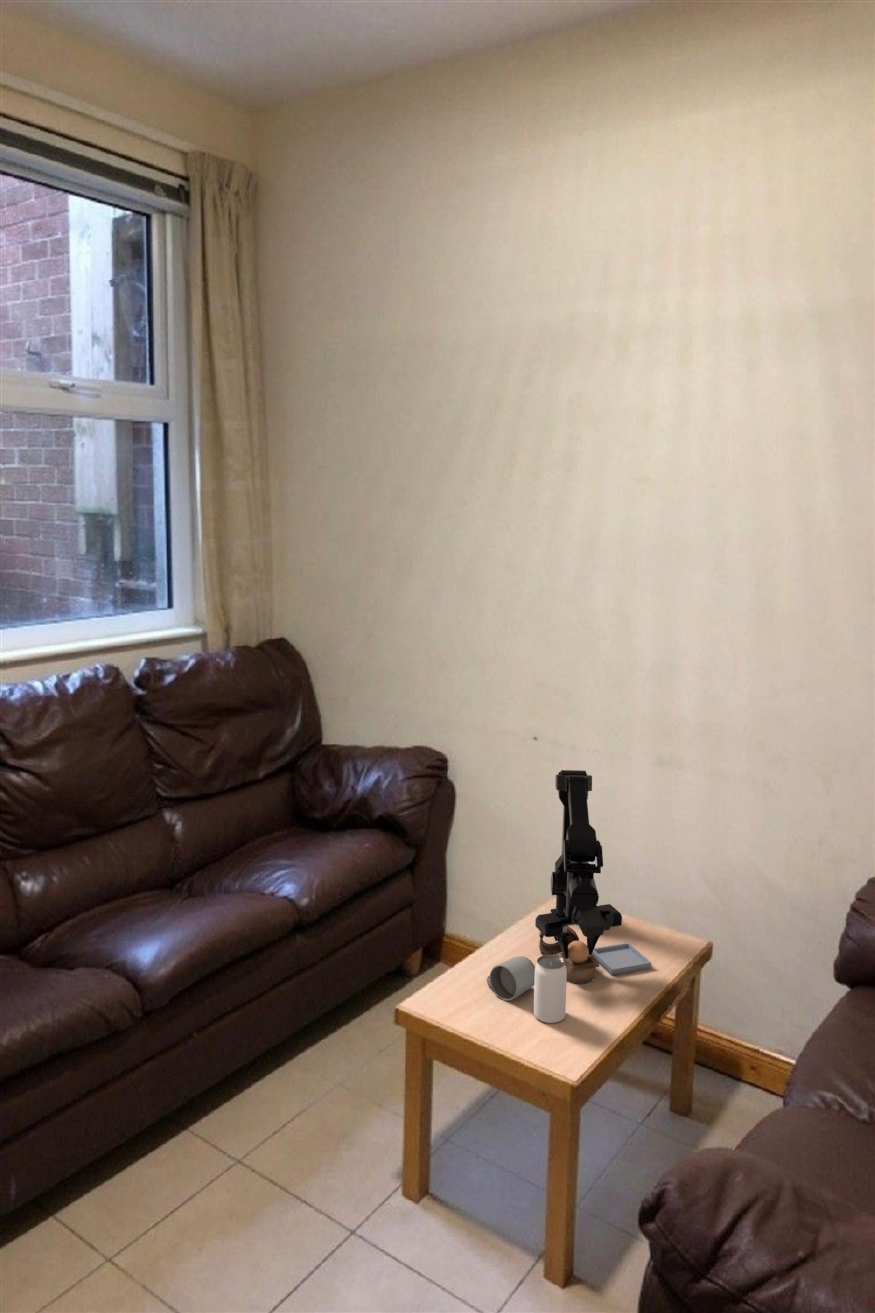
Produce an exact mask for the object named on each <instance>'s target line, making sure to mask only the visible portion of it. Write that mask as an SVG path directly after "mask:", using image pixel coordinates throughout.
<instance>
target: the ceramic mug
mask: <svg viewBox="0 0 875 1313" xmlns="http://www.w3.org/2000/svg"><path fill="white" fill-rule="evenodd" d="M535 966H536V965H535V964H534V963H533V961H532V960H531V959H530V958H528V957H526V956H523V955H520V956H514V957H512V958H510V959H508V960H506V961H502V962H501V963H498V964H496V965H494V966H493V967H492V969H491V970H490V972H489V975H488V976H486V983H487V985H488V987H491V989H492V991H493V992H494V994H495V996H497V997H498V998H499V999H501V1001H505V1002H510V1001H512V1000H514V999H516V998H518V997H519V996H521V995H523V994H524V993H525V992H527V991H529V990H530V989H532V988H533V987H534V980H535Z"/></svg>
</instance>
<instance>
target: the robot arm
mask: <svg viewBox="0 0 875 1313" xmlns="http://www.w3.org/2000/svg"><path fill="white" fill-rule="evenodd" d="M554 781H555V790H556V791H557V793H558V794H557V795H558V798H559V799H558V800H559V801H560V802H561V804H562V806H563V807H562V808H563V810H562V811H563V813H562V832H561V833H562V834H561V855H559V857H558V859H557V860H556V861H555V862H554V871H551V875H550V876H551V877H550V891H551V892H550V894H551V896H556V897H555V908H551V909H550V912H548V913H543V914H538V915H537V916H536V918H535V923H534V924H535V927H536V929H537V930H538V931H539V933H540V932H541V933H542V934H543V935H544V936H543V937H545V938H554V936H556V938H557V940H558V941H557V942H558V943H559V945H560V948H561V951H562V952H561V953H563V956H564V958H565V959H567V958H568V946H569V945H568V938H569V937H570V934H569V933H568V932H567V926H569V927H570V926H571V927H572V926H578V928H579V929H580V931H581V934H582V935H583V936H584V937H585V938H586V945H587V947H588V950H589V955H591V954H592V952H593V950H594V948H596V946H597V945H596V944H597V943H598V941H599V939H600V936H603V935H604V933H605V932H607V931H609V930H610V929H611V928H614V927H621V926H622V924H623V915H622V913H621V912H620V911H619V910H617V909H616V908H615V907H614V906H613V905H611V903H607V904H606V903H605V904H600V905H598V903H599V898H600V896H599V892H598V888H597V884H596V881H595V875H594V874H601V873H602V872H601V871H602V868H603V867H604V856H603V846H602V844H601V842H600V840H598V838H597V833H596V829H595V828H594V827H593V826H592V825H591V823H590V818H589V816H590V815H589V807H588V806H589V805H588V799H589V792H592V791H593V775H590V774H588V772H587V771H586V770H581V769H580V770H575V769H574V770H571V769H570V770H569V769H561V770H560V771H559V772H558V773H557V774H555V780H554ZM594 862H596V863H594Z"/></svg>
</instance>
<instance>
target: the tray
mask: <svg viewBox="0 0 875 1313" xmlns="http://www.w3.org/2000/svg"><path fill="white" fill-rule="evenodd" d="M591 956H592V957H593V958H594V959H595V960H596V961H597V962H598V963H599V966H600V967H602V968H603V969H604V970H605V971H606V972H607V973H608V974H609V975H610V976H611V977H613V976H618V975H624V974H629V973H634V972H635V971H636V972H641V971H646V970H645V969H647V970H651V969H652V962H651V960H649V959H648V958H647V957H646V956H645V955H643V953H641V952H640V951H639V950H638V949H637V948H636V947H634V945H632V944H631V943H630V942H629V941H628V942H623V943H616V944H612V945H611V944H610V945H605V946H604V945H603V946H599V947H595V948H594V950H593V952H592V954H591ZM640 970H641V971H640Z"/></svg>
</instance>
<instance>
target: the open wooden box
mask: <svg viewBox="0 0 875 1313" xmlns="http://www.w3.org/2000/svg"><path fill="white" fill-rule="evenodd" d="M555 956H558V957H561V958H562V959H563V960H564V961H565V966H566V969H567V980H566V982H568V983H571V984H580V985H582V984H588V983H591V982H593V981H594V980H595V978H596V972H597V971H596V970H597V969H596V968H599V967H600V964H599V963H598V962H597V961H596V960H595V959H594V958H593V957H592V956H591V955H588V958H587V959H586V960H585V961H584V962H582V963H574V962H572V961H571V960H570V959H569V957H568V958H567V959H565V958H564V956H563V953H562V952H560V953H557V954H555Z"/></svg>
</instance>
